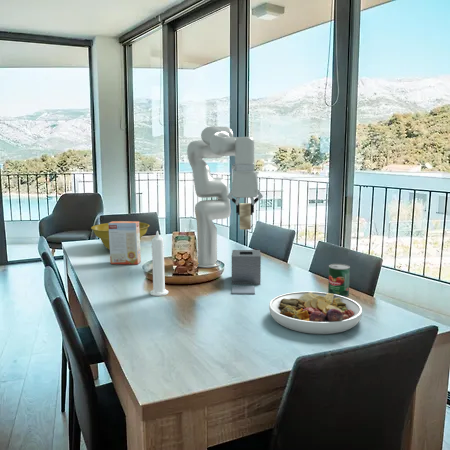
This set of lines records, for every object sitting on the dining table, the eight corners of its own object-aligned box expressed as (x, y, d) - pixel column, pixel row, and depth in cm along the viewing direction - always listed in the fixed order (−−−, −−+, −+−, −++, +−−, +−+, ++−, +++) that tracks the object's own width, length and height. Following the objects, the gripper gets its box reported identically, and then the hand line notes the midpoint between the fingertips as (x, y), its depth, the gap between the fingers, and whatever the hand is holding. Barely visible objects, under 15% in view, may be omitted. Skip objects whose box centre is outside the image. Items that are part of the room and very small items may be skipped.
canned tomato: (349, 291, 179) (350, 264, 178) (348, 297, 172) (350, 269, 170) (328, 289, 182) (329, 263, 180) (327, 296, 174) (328, 268, 172)
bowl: (254, 310, 160) (254, 289, 158) (328, 300, 170) (328, 280, 169) (296, 344, 132) (297, 318, 131) (381, 329, 142) (382, 305, 141)
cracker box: (141, 261, 228) (139, 220, 225) (137, 264, 222) (136, 222, 219) (114, 261, 230) (112, 220, 226) (110, 264, 224) (108, 222, 220)
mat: (231, 294, 177) (231, 292, 177) (232, 287, 186) (232, 285, 186) (254, 294, 176) (254, 292, 176) (254, 287, 185) (254, 285, 185)
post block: (231, 284, 190) (231, 256, 188) (232, 276, 202) (232, 249, 200) (260, 284, 189) (260, 256, 187) (259, 276, 201) (259, 250, 199)
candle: (164, 296, 174) (163, 232, 170) (147, 295, 176) (145, 232, 172) (170, 291, 181) (169, 229, 177) (153, 290, 183) (151, 228, 178)
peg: (239, 229, 181) (239, 204, 179) (239, 227, 185) (239, 203, 184) (250, 229, 181) (250, 204, 179) (250, 227, 185) (250, 203, 183)
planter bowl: (102, 243, 275) (101, 221, 272) (155, 243, 273) (154, 221, 271) (83, 255, 243) (82, 230, 241) (143, 255, 242) (142, 230, 239)
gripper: (223, 169, 176) (223, 216, 179) (266, 168, 175) (266, 215, 178) (223, 168, 183) (224, 213, 186) (265, 168, 183) (265, 213, 185)
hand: (245, 214), depth 182 cm, fingers closed on peg, 4 cm apart
